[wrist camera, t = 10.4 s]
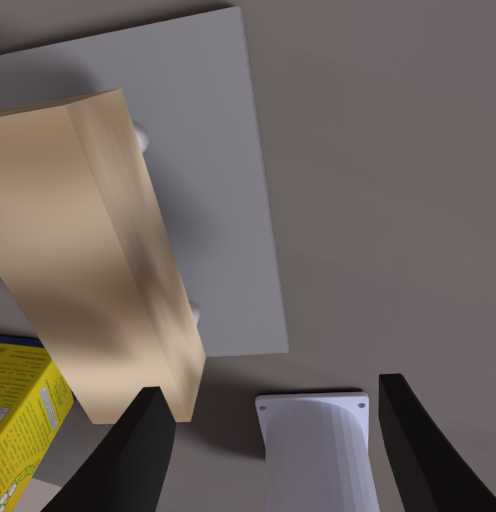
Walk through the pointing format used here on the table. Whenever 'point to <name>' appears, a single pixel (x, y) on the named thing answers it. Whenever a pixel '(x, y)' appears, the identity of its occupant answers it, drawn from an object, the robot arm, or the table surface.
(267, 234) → the peg stand
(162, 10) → the table surface
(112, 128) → the shelf board
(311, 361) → the table surface
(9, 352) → the supplement box
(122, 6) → the table surface
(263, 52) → the table surface
